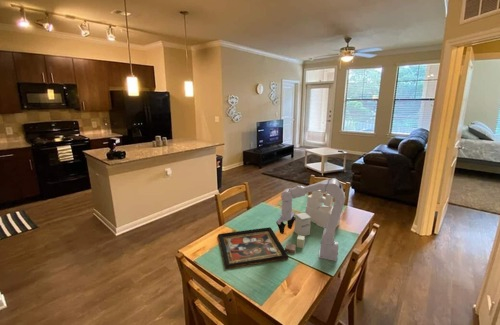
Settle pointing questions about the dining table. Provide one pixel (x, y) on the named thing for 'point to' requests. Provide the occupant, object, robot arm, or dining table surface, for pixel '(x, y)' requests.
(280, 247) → the framed icon painting
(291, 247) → the walnut base
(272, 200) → the dining table surface
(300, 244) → the sage block
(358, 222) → the dining table surface
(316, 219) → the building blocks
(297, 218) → the supplement box
